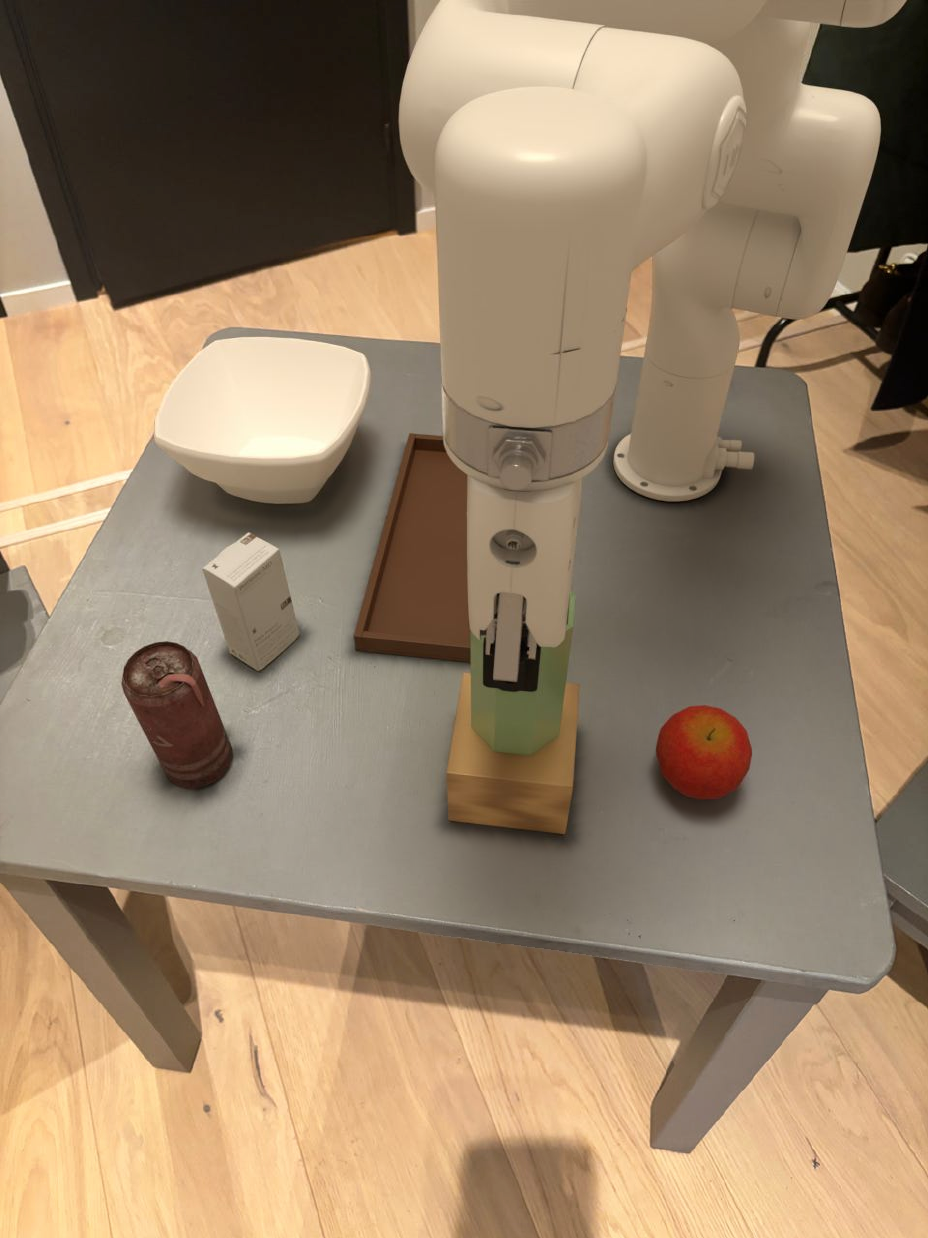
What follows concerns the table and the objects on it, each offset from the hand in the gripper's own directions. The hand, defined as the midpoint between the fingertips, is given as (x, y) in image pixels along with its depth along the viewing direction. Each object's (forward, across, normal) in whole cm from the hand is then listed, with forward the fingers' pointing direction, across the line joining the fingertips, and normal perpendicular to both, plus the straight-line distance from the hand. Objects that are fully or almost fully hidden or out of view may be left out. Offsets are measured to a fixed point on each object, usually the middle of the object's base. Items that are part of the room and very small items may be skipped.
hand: (513, 660), depth 54 cm
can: (+27, +6, +28) cm, 40 cm away
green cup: (+19, +9, 0) cm, 21 cm away
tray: (+27, +36, +8) cm, 46 cm away
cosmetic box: (+27, +20, +26) cm, 43 cm away
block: (+27, +8, 0) cm, 28 cm away
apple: (+27, +10, -16) cm, 33 cm away
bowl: (+27, +45, +31) cm, 61 cm away
